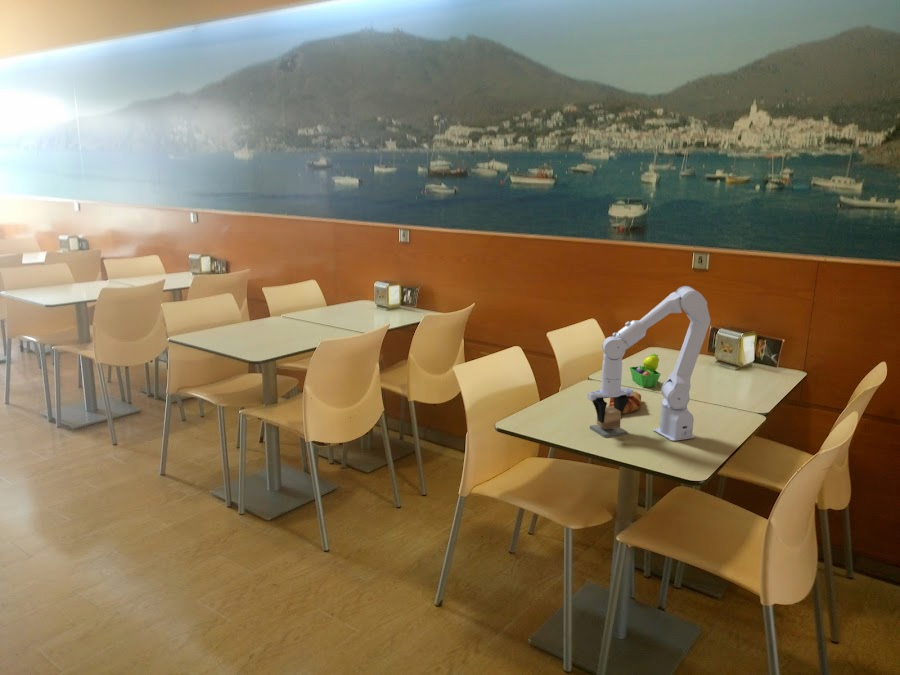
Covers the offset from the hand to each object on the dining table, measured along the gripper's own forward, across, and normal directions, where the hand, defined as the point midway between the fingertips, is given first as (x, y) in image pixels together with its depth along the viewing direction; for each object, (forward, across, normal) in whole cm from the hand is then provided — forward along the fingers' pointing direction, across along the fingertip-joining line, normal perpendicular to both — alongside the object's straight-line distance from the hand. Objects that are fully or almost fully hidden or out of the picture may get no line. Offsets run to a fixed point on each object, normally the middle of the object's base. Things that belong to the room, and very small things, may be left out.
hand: (608, 420), depth 206 cm
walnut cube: (+2, 0, 0) cm, 2 cm away
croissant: (+4, -17, -16) cm, 24 cm away
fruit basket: (+4, -40, -38) cm, 55 cm away
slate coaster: (+3, 0, 0) cm, 3 cm away
